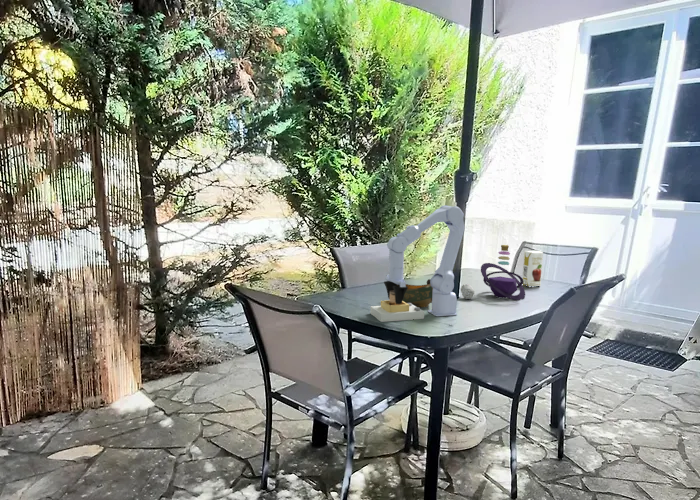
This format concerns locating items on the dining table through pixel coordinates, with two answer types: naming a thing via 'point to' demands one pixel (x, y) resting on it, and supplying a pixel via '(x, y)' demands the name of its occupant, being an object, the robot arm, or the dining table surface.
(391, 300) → the copper can
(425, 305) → the green brown bowl
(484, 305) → the dining table surface
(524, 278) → the juice carton
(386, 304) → the tray with yellow box
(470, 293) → the white bumpy ball
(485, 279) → the decorative bottle
